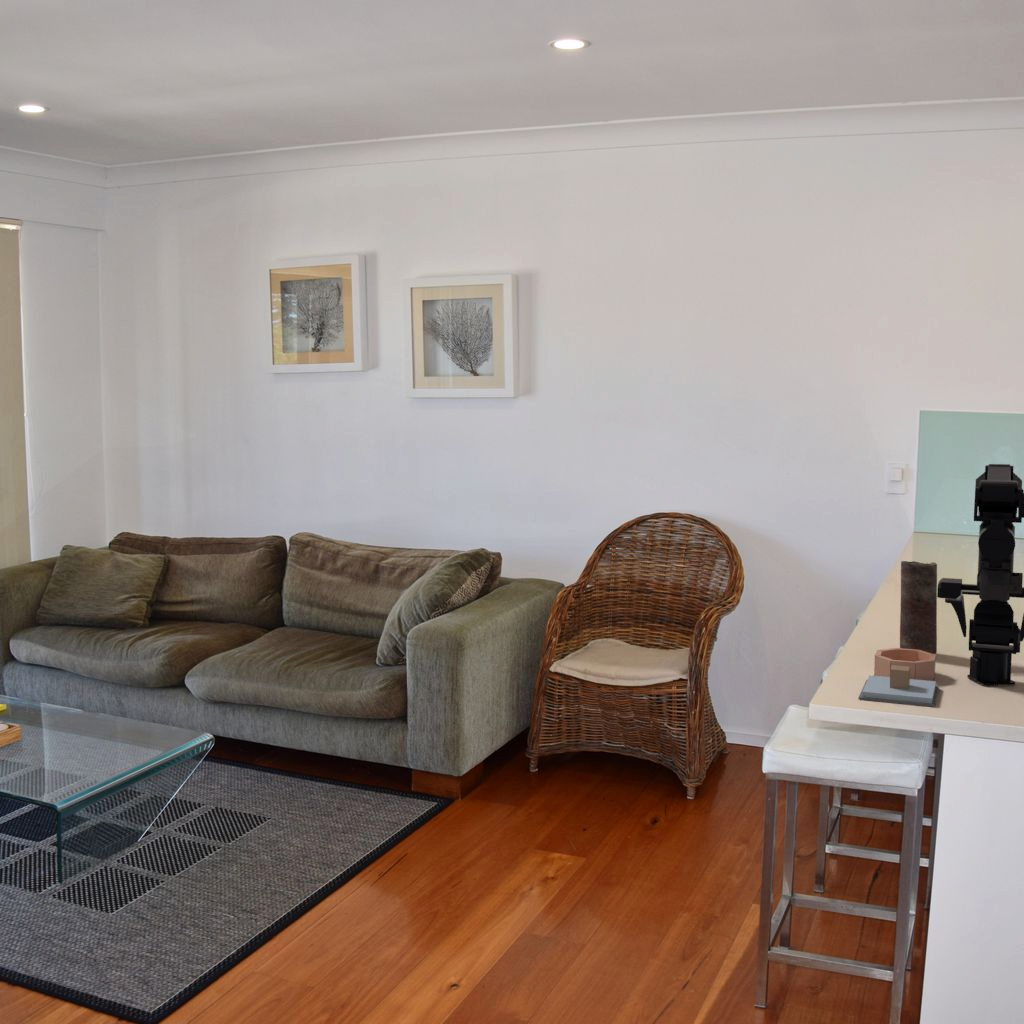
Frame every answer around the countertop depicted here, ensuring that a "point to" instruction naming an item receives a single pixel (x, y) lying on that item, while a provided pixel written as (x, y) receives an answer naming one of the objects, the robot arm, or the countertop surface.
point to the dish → (906, 662)
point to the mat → (901, 701)
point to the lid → (899, 687)
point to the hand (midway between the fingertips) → (992, 638)
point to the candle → (918, 606)
